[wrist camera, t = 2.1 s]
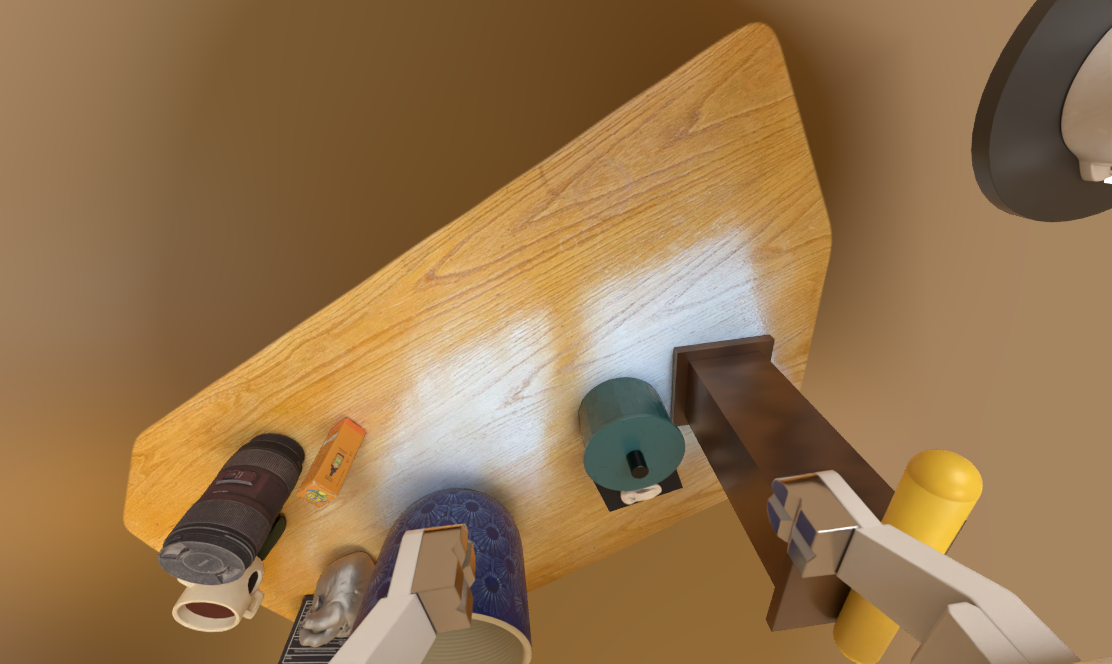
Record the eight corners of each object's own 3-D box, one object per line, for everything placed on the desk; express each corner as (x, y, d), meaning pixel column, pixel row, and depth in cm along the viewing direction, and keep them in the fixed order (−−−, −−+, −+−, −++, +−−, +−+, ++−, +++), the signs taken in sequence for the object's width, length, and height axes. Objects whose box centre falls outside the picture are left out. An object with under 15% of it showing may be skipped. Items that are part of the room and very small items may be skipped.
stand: (769, 334, 52) (967, 520, 29) (756, 408, 58) (911, 611, 35) (674, 347, 51) (798, 545, 29) (670, 420, 57) (771, 632, 35)
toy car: (605, 465, 61) (607, 475, 59) (646, 451, 60) (649, 460, 58) (622, 500, 65) (624, 509, 63) (661, 487, 64) (664, 496, 62)
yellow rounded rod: (901, 441, 24) (951, 486, 22) (954, 433, 24) (1010, 477, 22) (820, 630, 35) (846, 676, 33) (857, 625, 35) (886, 670, 33)
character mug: (311, 530, 62) (266, 627, 51) (273, 546, 63) (221, 645, 52) (253, 487, 57) (188, 584, 45) (213, 506, 58) (140, 606, 47)
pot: (661, 371, 53) (681, 410, 46) (659, 435, 58) (677, 478, 52) (575, 383, 53) (584, 424, 46) (581, 446, 58) (590, 490, 52)
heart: (382, 588, 70) (362, 666, 59) (321, 583, 68) (289, 663, 57) (394, 542, 67) (375, 614, 56) (330, 535, 65) (298, 609, 54)
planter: (480, 445, 56) (466, 589, 40) (551, 525, 66) (563, 669, 50) (357, 501, 60) (297, 656, 43) (441, 571, 70) (419, 718, 53)
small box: (307, 615, 73) (277, 689, 63) (304, 594, 69) (272, 669, 60) (371, 616, 74) (351, 688, 65) (371, 595, 71) (350, 668, 62)
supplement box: (328, 429, 53) (292, 495, 44) (347, 415, 52) (314, 480, 43) (349, 444, 54) (318, 510, 46) (368, 431, 54) (340, 496, 45)
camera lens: (229, 453, 53) (137, 568, 40) (264, 418, 51) (178, 528, 38) (288, 482, 57) (220, 597, 44) (323, 451, 55) (263, 562, 42)
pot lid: (684, 403, 47) (696, 425, 44) (679, 476, 53) (690, 500, 50) (578, 417, 46) (583, 441, 43) (585, 490, 52) (590, 514, 49)
